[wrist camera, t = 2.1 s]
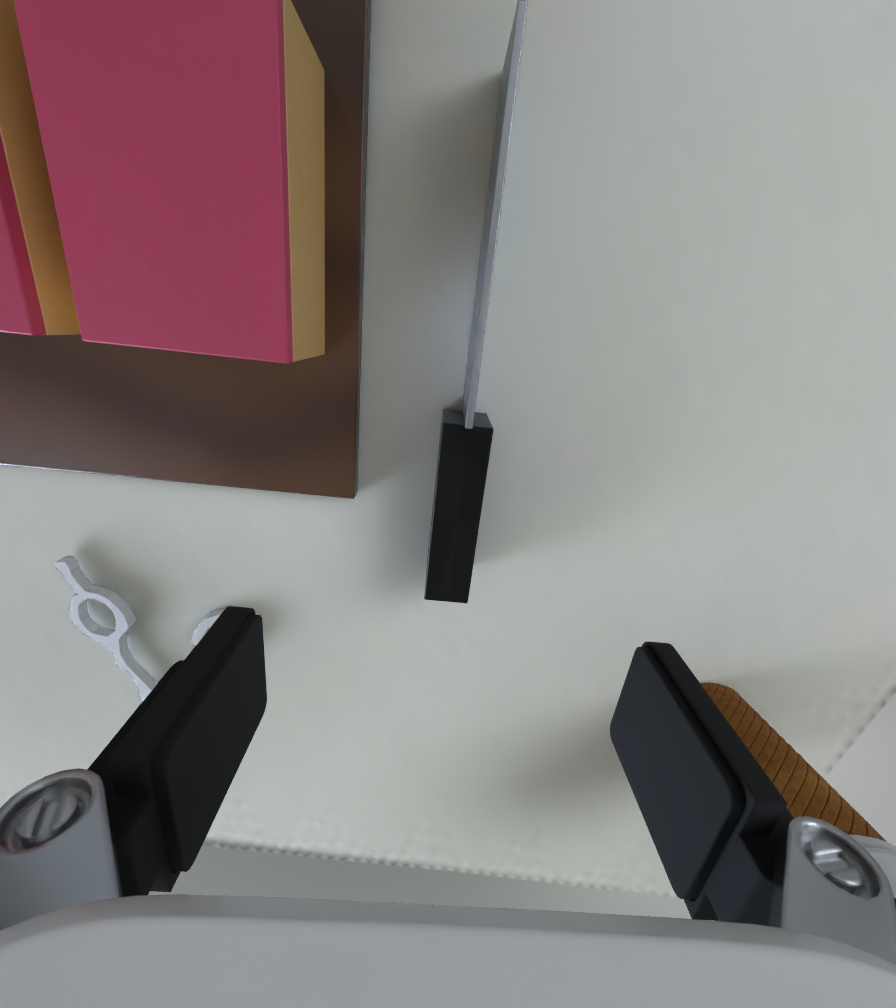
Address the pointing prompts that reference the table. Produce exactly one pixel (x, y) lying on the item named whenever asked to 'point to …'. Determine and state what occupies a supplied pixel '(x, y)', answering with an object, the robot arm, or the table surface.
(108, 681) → the table surface
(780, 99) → the table surface
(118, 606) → the scissors
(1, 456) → the cake board
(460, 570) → the knife
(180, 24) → the cake
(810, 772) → the disposable coffee cup
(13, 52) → the cake slice
